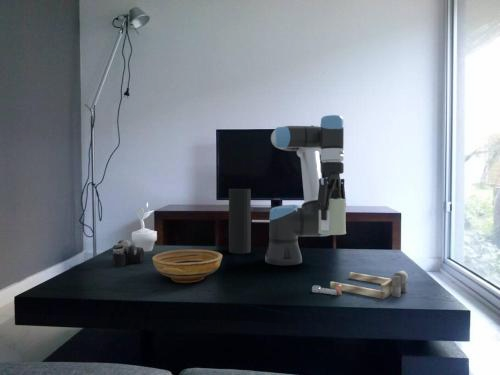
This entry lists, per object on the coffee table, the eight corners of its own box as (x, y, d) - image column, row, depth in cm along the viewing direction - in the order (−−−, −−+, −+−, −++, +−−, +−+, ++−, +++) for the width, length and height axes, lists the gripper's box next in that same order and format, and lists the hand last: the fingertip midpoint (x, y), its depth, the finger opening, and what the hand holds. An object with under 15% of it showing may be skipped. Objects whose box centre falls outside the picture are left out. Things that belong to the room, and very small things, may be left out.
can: (346, 235, 120) (346, 198, 120) (317, 234, 122) (317, 197, 122) (345, 232, 129) (345, 197, 129) (318, 231, 131) (318, 197, 131)
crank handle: (312, 291, 115) (312, 282, 115) (314, 290, 116) (314, 280, 116) (340, 296, 110) (340, 286, 110) (342, 294, 112) (342, 284, 112)
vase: (224, 253, 174) (224, 189, 174) (240, 250, 181) (240, 188, 181) (238, 256, 167) (238, 189, 166) (255, 253, 174) (255, 189, 173)
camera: (137, 269, 143) (136, 243, 143) (110, 269, 143) (109, 243, 143) (146, 260, 159) (146, 237, 159) (122, 260, 159) (122, 237, 159)
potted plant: (143, 256, 167) (142, 200, 167) (126, 253, 174) (125, 200, 173) (164, 251, 178) (163, 199, 177) (147, 249, 184) (147, 198, 184)
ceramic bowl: (205, 293, 113) (205, 267, 113) (134, 288, 119) (133, 263, 119) (233, 270, 142) (233, 249, 141) (174, 266, 147) (174, 246, 147)
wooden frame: (330, 288, 118) (330, 267, 118) (350, 277, 131) (350, 259, 131) (397, 301, 105) (397, 278, 105) (413, 288, 118) (413, 268, 118)
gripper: (326, 159, 115) (326, 232, 115) (356, 163, 131) (356, 227, 131) (305, 160, 120) (305, 230, 120) (336, 163, 136) (336, 225, 136)
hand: (332, 228), depth 125 cm, fingers closed on can, 9 cm apart
